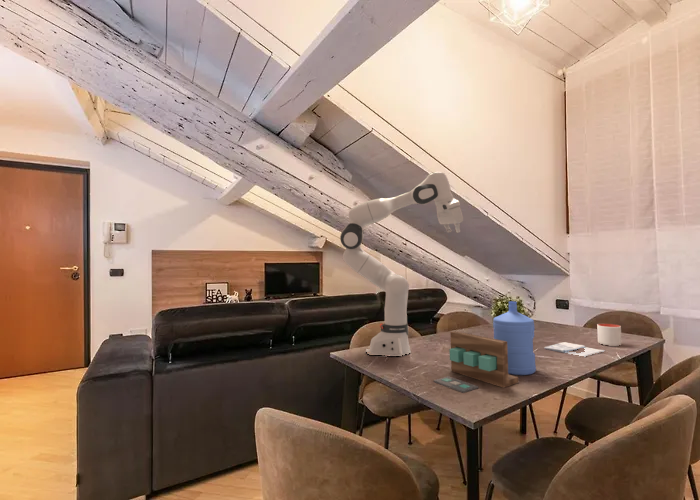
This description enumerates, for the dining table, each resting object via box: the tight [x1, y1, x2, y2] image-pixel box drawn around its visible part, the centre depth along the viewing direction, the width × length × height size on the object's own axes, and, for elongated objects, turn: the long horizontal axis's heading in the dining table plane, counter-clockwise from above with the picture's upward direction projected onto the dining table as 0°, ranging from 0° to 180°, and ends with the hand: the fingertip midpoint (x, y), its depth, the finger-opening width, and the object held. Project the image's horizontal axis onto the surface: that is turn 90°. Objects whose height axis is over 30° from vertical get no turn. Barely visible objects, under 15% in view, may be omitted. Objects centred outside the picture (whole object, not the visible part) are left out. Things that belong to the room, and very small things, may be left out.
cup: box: [596, 323, 622, 347], centre depth 189 cm, size 10×10×10 cm
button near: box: [479, 354, 497, 371], centre depth 134 cm, size 7×4×4 cm, turn 123°
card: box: [433, 375, 479, 394], centre depth 134 cm, size 8×14×1 cm, turn 33°
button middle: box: [463, 350, 481, 367], centre depth 140 cm, size 7×4×4 cm, turn 123°
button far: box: [448, 347, 466, 363], centre depth 146 cm, size 7×4×4 cm, turn 123°
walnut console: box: [449, 330, 519, 388], centre depth 143 cm, size 9×24×16 cm, turn 33°
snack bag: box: [543, 341, 607, 358], centre depth 179 cm, size 19×20×2 cm
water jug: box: [492, 300, 537, 376], centre depth 151 cm, size 16×16×28 cm
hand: (453, 232), depth 174 cm, fingers open, 8 cm apart
